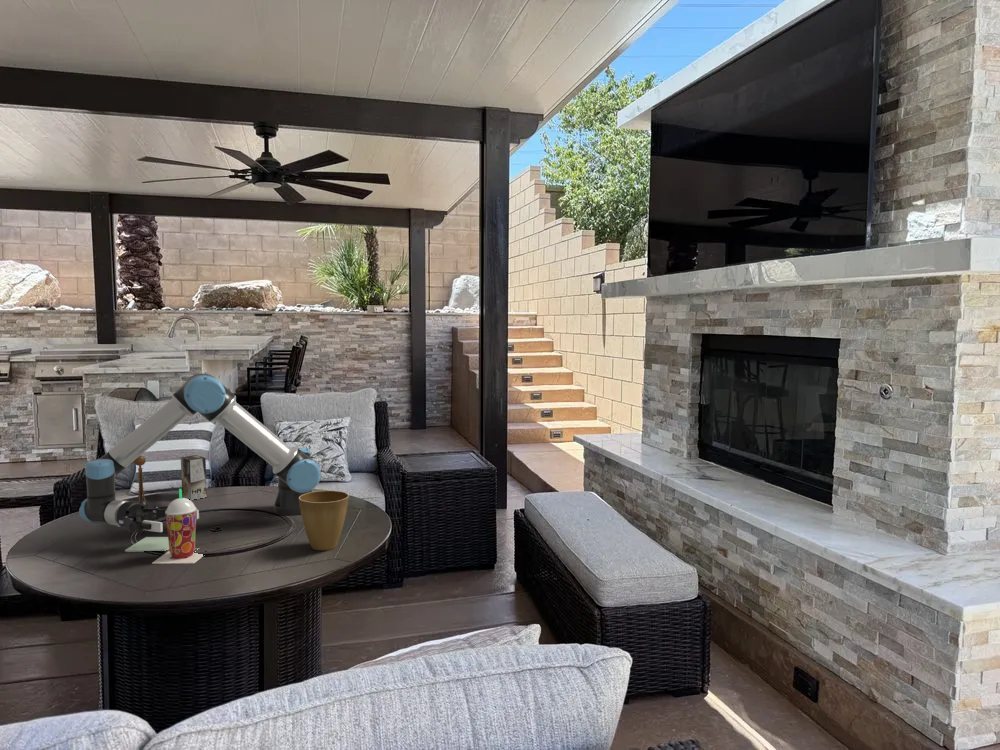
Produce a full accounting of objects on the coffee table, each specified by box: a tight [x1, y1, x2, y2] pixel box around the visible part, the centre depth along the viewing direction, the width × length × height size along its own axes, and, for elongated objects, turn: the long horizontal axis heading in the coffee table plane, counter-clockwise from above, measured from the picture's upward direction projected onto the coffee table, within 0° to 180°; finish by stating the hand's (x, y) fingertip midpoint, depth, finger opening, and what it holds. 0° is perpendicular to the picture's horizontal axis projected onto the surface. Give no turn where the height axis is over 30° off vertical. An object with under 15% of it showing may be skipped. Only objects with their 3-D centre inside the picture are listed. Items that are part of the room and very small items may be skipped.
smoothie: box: [165, 488, 198, 558], centre depth 194 cm, size 8×8×20 cm
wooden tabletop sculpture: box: [131, 454, 150, 508], centre depth 244 cm, size 6×5×20 cm
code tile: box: [151, 548, 204, 565], centre depth 195 cm, size 12×12×1 cm
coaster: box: [124, 536, 169, 553], centre depth 204 cm, size 12×12×1 cm
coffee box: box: [180, 454, 208, 501], centre depth 260 cm, size 9×6×16 cm
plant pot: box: [299, 490, 350, 551], centre depth 203 cm, size 15×15×16 cm
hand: (180, 520), depth 193 cm, fingers open, 13 cm apart
